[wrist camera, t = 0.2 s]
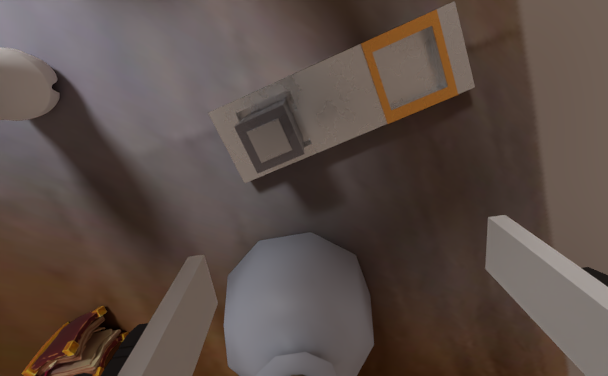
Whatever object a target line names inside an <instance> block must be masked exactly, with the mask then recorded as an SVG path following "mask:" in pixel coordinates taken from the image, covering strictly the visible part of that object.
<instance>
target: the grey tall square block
mask: <svg viewBox="0 0 608 376" xmlns="http://www.w3.org/2000/svg"><path fill="white" fill-rule="evenodd" d="M234 128H235V130H236V132H237V134H238V136H239V138H240V140H241V142H242V144H243V146H244V148H245V150H246V152H247V154H248V156H249V158H250V160H251V162H252V164H253V166H254V168H255V170H256V172H257V174H258V173H261V172H263V171H265V170H268V169H270V168H272V167H275V166H277V165H280V164H282V163H284V162H287V161H289V160H292V159H294V158H296V157H299V156H301V155H304V140H303V136H302V133H301V131H300V129H299V126H298V124H297V122H296V119H295V117H294V115H293V112H292V110H291V108H290V105H289V103H288V101H287V98H284V99H282V100H280V101H278V102H275V103H273V104H271V105H269V106H266V107H264V108H262V109H260V110H257V111H255V112H253V113H251V114H248V115H246V116H245V117H244V118H243V119H242V120H241V121H240V122H239V123H238V124H236V125H235V126H234Z"/></svg>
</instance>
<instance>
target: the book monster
mask: <svg viewBox="0 0 608 376" xmlns="http://www.w3.org/2000/svg"><path fill="white" fill-rule="evenodd" d="M106 312H107V311H106V309H105V307H104V306H101V307H98V308H97V309H96V310H94V311H91V312H89V313H87V314H84V315H82V316H80V317H78V318H76V319H75V320H74V321H72V322H71V323H69V322H67V323H66V324H64V325H63V326H62V327H61V328H60V329H59V330H58V331H57V332H56V333H55V334H54V335H53V336H52V337H51V338H50V339H49V340H48V341H47V342H46V343H45V344H44V345H43V347H42V348H41V349H40V350H39V352H38V353H37V354H36V355H35V357H34V358H33V359H32V360H31V362H30V363H29V364H28V366H27V367H26V368H25V370H24V371H23V373H22V374H23V375H24V376H73V375H76V374H81V373H89V374H92V375H93V376H101V374H102V372H103V371H104V364H105V360H106V358H107V356H108V354H109V352H110V351H111V350H112V349H113V348H114V346H115V345H116V344H117V343H119V342H123V340H124V339H125V337H126V336H127V335H128V334H129V333H128V332H124V333H121V330H120V329H119V330H113V331H112V329H109V330H105V331H100V332H96V331H99V330H101V329H106V328H105V327H98V326H99V325H100V324H101V323H102V322H103V321H104V320H105V319H104V317H103V315H104V314H105V313H106ZM94 332H96V333H94ZM120 333H121V334H120Z"/></svg>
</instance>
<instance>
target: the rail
mask: <svg viewBox="0 0 608 376" xmlns="http://www.w3.org/2000/svg"><path fill="white" fill-rule="evenodd" d="M474 87H475V85H474V81H473V77H472V73H471V68H470V64H469V60H468V56H467V51H466V47H465V43H464V38H463V34H462V30H461V26H460V21H459V17H458V13H457V9H456V4H455V1H454V2H452V3H449V4H447V5H445V6H443V7H440V8H438V9H436V10H434V11H432V12H429V13H427V14H425V15H423V16H420V17H418V18H416V19H414V20H412V21H409V22H407V23H405V24H403V25H401V26H398V27H396V28H394V29H392V30H390V31H387V32H385V33H383V34H381V35H379V36H376V37H374V38H372V39H370V40H368V41H365V42H363V43H361V44H359V45H356V46H354V47H352V48H350V49H348V50H345V51H343V52H341V53H339V54H337V55H334V56H332V57H330V58H328V59H326V60H323V61H321V62H319V63H317V64H315V65H312V66H310V67H308V68H306V69H304V70H301V71H299V72H297V73H295V74H292V75H290V76H288V77H286V78H284V79H281V80H279V81H277V82H275V83H273V84H270V85H268V86H266V87H264V88H262V89H259V90H257V91H255V92H253V93H251V94H248V95H246V96H244V97H242V98H240V99H237V100H235V101H233V102H231V103H228V104H226V105H224V106H222V107H220V108H217V109H215V110H213V111H211V112H209V113H208V114H209V116H210V118H211V119H212V121H213V123H214V125H215V127H216V129H217V131H218V133H219V135H220V137H221V139H222V141H223V143H224V144H225V146H226V148H227V150H228V152H229V154H230V156H231V158H232V160H233V162H234V164H235V166H236V168H237V170H238V171H239V173H240V175H241V177H242V179H243V181H244V183H247V182H249V181H252V180H254V179H256V178H259V177H261V176H264V175H266V174H268V173H271V172H273V171H276V170H278V169H280V168H283V167H285V166H288V165H290V164H292V163H295V162H297V161H300V160H302V159H304V158H307V157H309V156H312V155H314V154H316V153H319V152H321V151H323V150H326V149H328V148H331V147H333V146H335V145H338V144H340V143H343V142H345V141H347V140H350V139H352V138H355V137H357V136H359V135H362V134H364V133H367V132H369V131H371V130H374V129H376V128H379V127H381V126H383V125H386V124H389V123H392V122H394V121H396V120H399V119H401V118H404V117H406V116H408V115H411V114H413V113H416V112H418V111H420V110H423V109H425V108H428V107H430V106H432V105H435V104H437V103H440V102H442V101H444V100H447V99H449V98H452V97H454V96H456V95H458V94H460V93H462V92H465V91H467V90H470V89H472V88H474ZM284 98H287V101H288V103H289V105H290V108H291V110H292V112H293V115H294V117H295V119H296V122H297V124H298V126H299V129H300V131H301V133H302V136H303V140H304V155H301V156H299V157H296V158H294V159H292V160H289V161H287V162H284V163H282V164H280V165H277V166H275V167H272V168H270V169H268V170H265V171H263V172H261V173H258V174H257V172H256V170H255V168H254V166H253V164H252V162H251V160H250V158H249V156H248V154H247V152H246V150H245V148H244V146H243V144H242V142H241V140H240V138H239V136H238V134H237V132H236V130H235V128H234V126H235V125H236V124H238V123H239V122H240V121H241V120H242V119H243V118H244V117H245V116H246V115H248V114H251V113H253V112H255V111H257V110H260V109H262V108H264V107H266V106H269V105H271V104H273V103H275V102H278V101H280V100H282V99H284Z"/></svg>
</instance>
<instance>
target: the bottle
mask: <svg viewBox="0 0 608 376" xmlns="http://www.w3.org/2000/svg"><path fill="white" fill-rule="evenodd" d="M224 333H225V342H226V351H227V361H228V367H230V368H231V369H232V370H233V371H235V372H236V373H237V374H238V375H240V376H357V375H358V373H359V371H360V369H361V367H362V366H363V364H364V362H365V360H366V358H367V357H368V355H369V353H370V351H371V349H372V347H373V346H374V337H373V324H372V312H371V299H370V293H369V290H368V288H367V285H366V282H365V279H364V276H363V274H362V271H361V268H360V265H359V262H358V260H357V257H356V255H355V254H353V253H351V252H349V251H347V250H345V249H343V248H341V247H339V246H337V245H335V244H333V243H331V242H329V241H328V240H326V239H324V238H322V237H320V236H318V235H316V234H314V233H312V232H309V233H303V234H297V235H291V236H285V237H279V238H273V239H267V240H261V241H258V242H257V243H256V245H255V246H254V247H253V248H252V249H251V250H250V251H249V252H248V254H247V255H246V256H245V257H244V258H243V259H242V260H241V261H240V263H239V264H238V265H237V266H236V267H235V268H234V269H233V270H232V272H231V273H230V274H229V275H228V281H227V293H226V305H225V317H224Z"/></svg>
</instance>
